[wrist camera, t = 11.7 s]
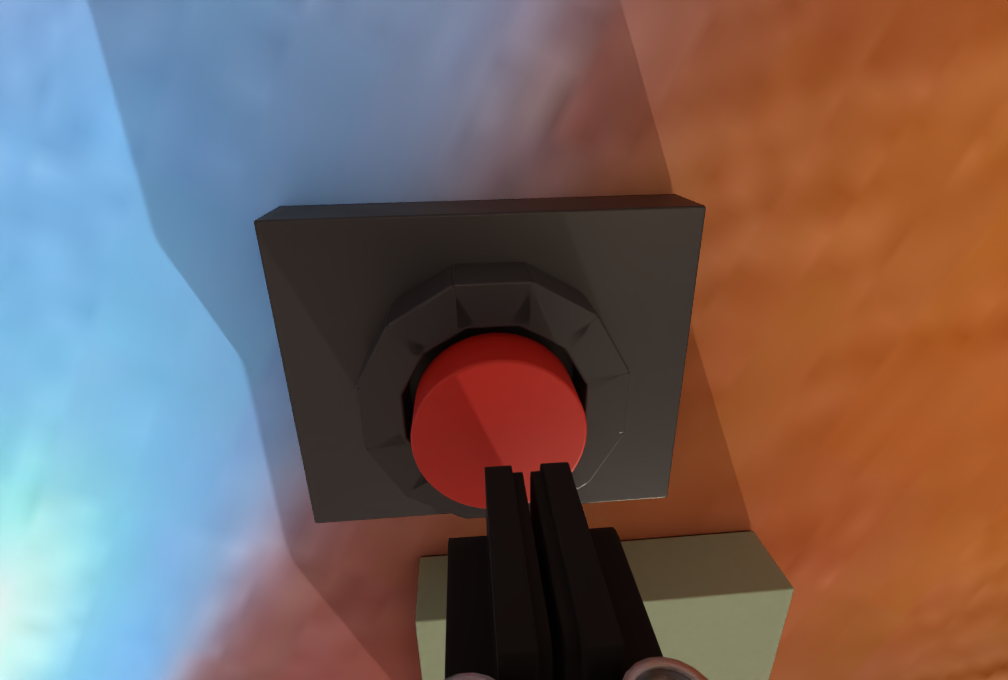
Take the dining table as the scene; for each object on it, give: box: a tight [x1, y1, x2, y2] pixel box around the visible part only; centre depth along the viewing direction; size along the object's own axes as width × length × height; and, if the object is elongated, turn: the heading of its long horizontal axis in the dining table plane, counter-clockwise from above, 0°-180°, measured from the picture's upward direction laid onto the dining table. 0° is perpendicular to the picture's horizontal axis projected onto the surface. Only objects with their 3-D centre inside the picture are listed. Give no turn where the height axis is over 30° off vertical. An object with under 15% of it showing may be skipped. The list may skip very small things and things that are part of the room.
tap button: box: [411, 333, 587, 509], centre depth 14 cm, size 4×4×2 cm
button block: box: [254, 194, 706, 523], centre depth 16 cm, size 12×10×4 cm
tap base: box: [415, 531, 794, 680], centre depth 23 cm, size 14×13×3 cm
